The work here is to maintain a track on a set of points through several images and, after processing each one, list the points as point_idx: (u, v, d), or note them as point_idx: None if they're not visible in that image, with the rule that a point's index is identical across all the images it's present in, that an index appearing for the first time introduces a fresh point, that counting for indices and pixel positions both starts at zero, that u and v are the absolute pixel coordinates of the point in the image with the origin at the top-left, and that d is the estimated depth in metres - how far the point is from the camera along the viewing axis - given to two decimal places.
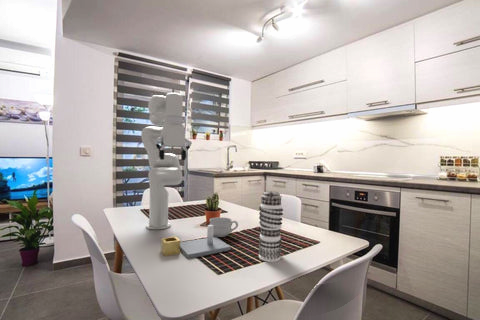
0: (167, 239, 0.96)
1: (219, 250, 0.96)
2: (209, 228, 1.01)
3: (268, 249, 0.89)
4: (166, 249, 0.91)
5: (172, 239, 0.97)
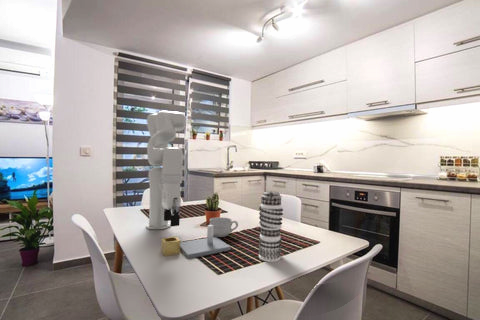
0: (167, 239, 0.96)
1: (219, 250, 0.96)
2: (209, 228, 1.01)
3: (268, 249, 0.89)
4: (166, 249, 0.91)
5: (172, 239, 0.97)
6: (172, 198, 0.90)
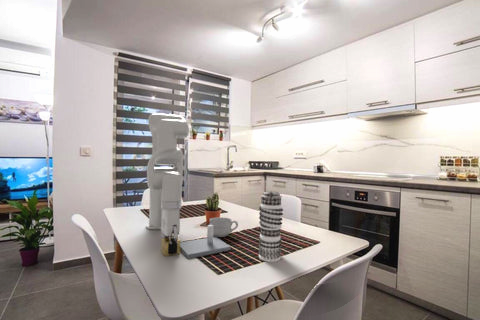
0: (167, 239, 0.96)
1: (219, 250, 0.96)
2: (209, 228, 1.01)
3: (268, 249, 0.89)
4: (166, 249, 0.91)
5: None
6: (171, 225, 0.90)
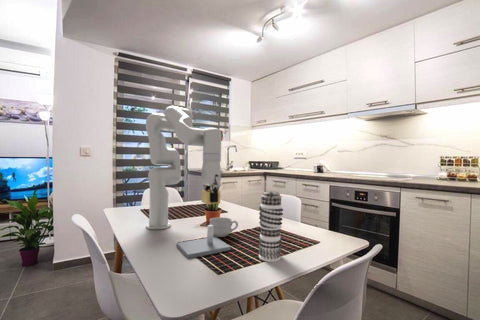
0: (207, 191, 1.03)
1: (219, 250, 0.96)
2: (209, 228, 1.01)
3: (268, 249, 0.89)
4: (208, 198, 0.98)
5: None
6: (213, 175, 0.97)
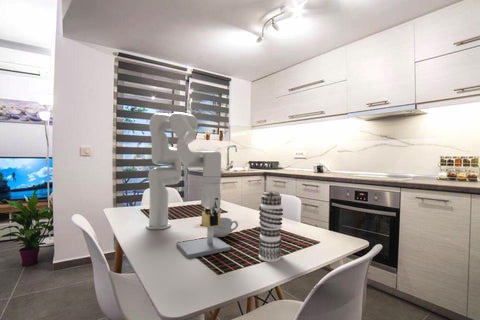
0: (207, 213, 1.03)
1: (219, 250, 0.96)
2: (209, 228, 1.01)
3: (268, 249, 0.89)
4: (208, 221, 0.98)
5: None
6: (213, 198, 0.97)
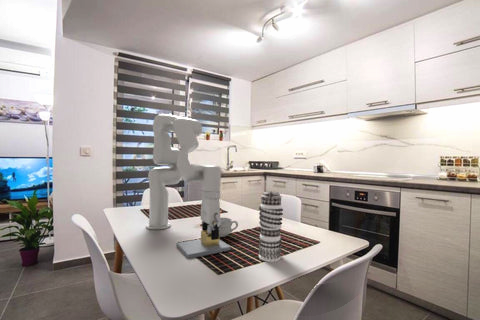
0: (206, 231, 1.03)
1: (219, 250, 0.96)
2: (209, 228, 1.01)
3: (268, 249, 0.89)
4: (207, 240, 0.98)
5: None
6: (213, 213, 0.97)
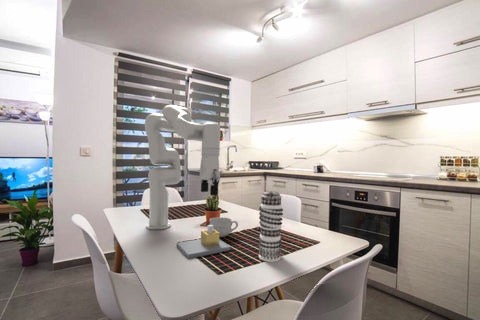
0: (206, 231, 1.03)
1: (219, 250, 0.96)
2: (209, 228, 1.01)
3: (268, 249, 0.89)
4: (207, 240, 0.98)
5: None
6: (212, 169, 0.97)
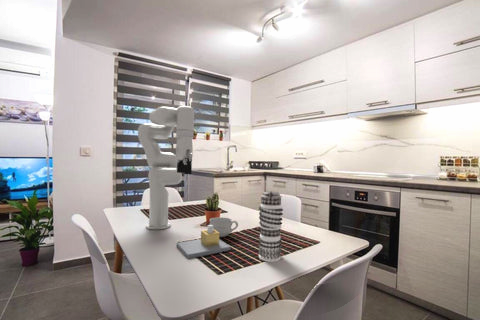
0: (206, 231, 1.03)
1: (219, 250, 0.96)
2: (209, 228, 1.01)
3: (268, 249, 0.89)
4: (207, 240, 0.98)
5: None
6: (185, 149, 1.03)
